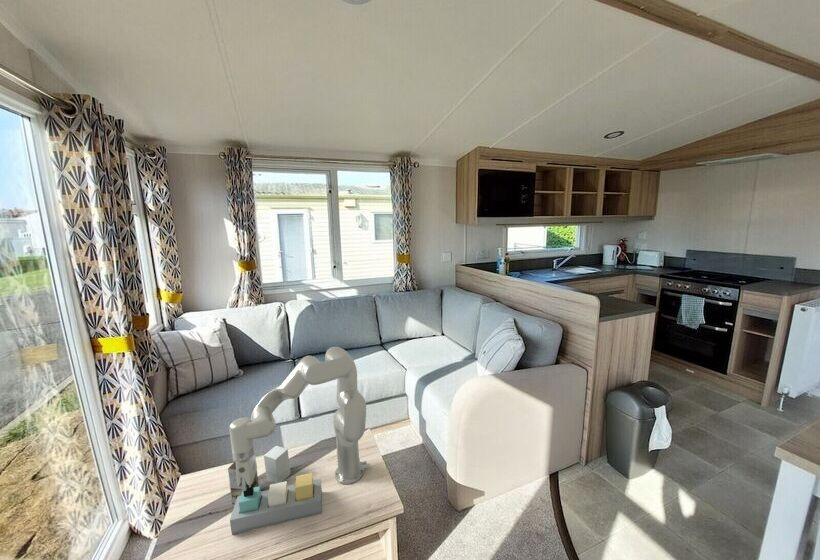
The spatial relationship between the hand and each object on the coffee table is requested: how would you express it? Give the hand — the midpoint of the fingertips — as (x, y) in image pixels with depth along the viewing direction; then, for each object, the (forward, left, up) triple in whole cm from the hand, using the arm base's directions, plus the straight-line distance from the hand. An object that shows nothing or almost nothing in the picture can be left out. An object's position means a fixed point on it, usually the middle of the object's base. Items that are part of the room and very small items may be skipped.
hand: (248, 494), depth 124 cm
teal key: (0, 0, -7) cm, 7 cm away
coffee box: (+5, -13, -11) cm, 17 cm away
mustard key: (-20, 0, -6) cm, 21 cm away
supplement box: (-7, -20, -11) cm, 24 cm away
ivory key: (-10, 0, -7) cm, 13 cm away
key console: (-10, 0, -11) cm, 15 cm away
